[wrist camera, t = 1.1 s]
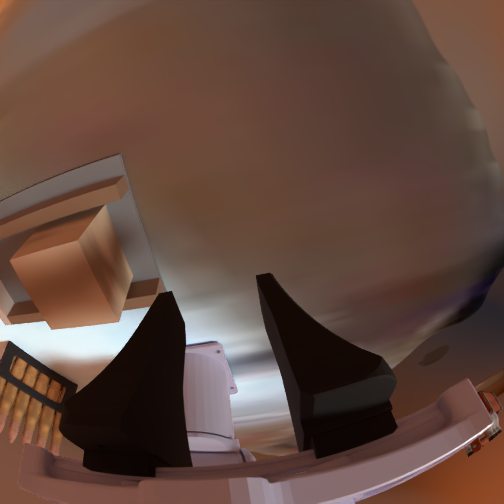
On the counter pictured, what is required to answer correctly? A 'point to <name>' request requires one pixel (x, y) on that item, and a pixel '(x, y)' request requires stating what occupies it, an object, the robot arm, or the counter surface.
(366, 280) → the counter surface
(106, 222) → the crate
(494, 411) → the milk bottle holder
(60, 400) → the ammunition clip
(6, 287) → the bay
